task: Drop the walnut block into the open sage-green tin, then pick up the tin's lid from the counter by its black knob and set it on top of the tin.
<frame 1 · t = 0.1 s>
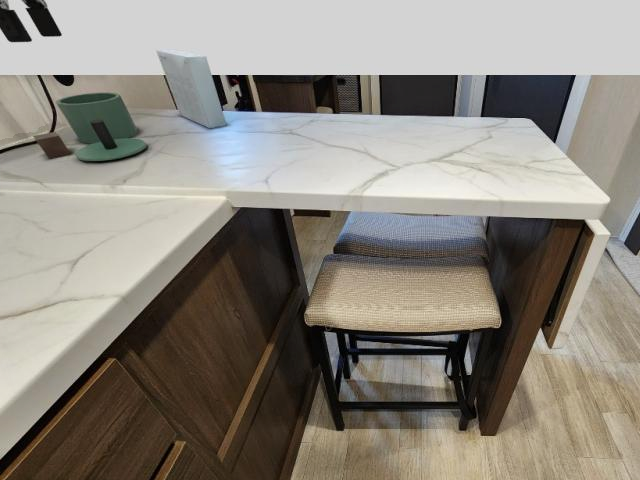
hand: (37, 38, 58), 21 cm above the countertop, tool pointing down, fingers open, 9 cm apart
tin lid: (112, 150, 76), point 1 cm above the countertop
block: (58, 154, 75), on the countertop
skincare box: (203, 120, 96), on the countertop
tin: (109, 135, 85), on the countertop
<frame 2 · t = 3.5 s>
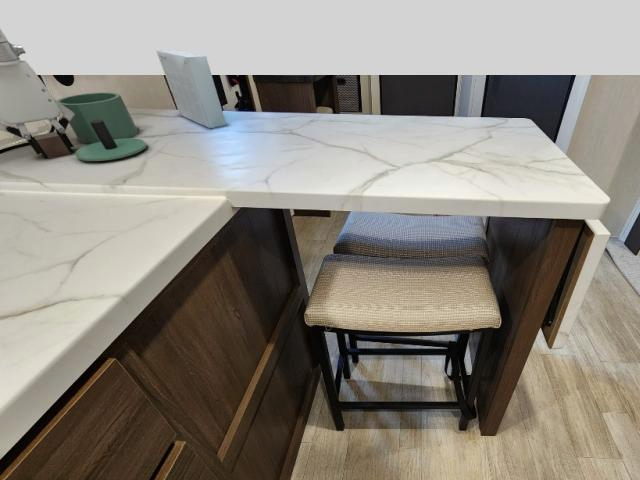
hand: (57, 153, 75), 0 cm above the countertop, tool pointing down, fingers closed on block, 4 cm apart
block: (58, 154, 75), on the countertop, touching gripper
everything else where it was.
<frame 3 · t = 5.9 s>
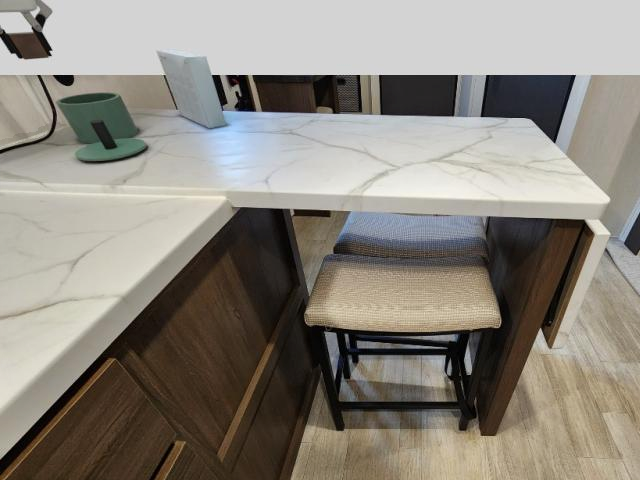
hand: (34, 55, 69), 17 cm above the countertop, tool pointing down, fingers closed on block, 4 cm apart
block: (35, 57, 69), point 17 cm above the countertop, touching gripper
everything else where it was.
when the fingers open (9 cm above the countertop, at t = 8.5 s): block drops 8 cm, resting on tin.
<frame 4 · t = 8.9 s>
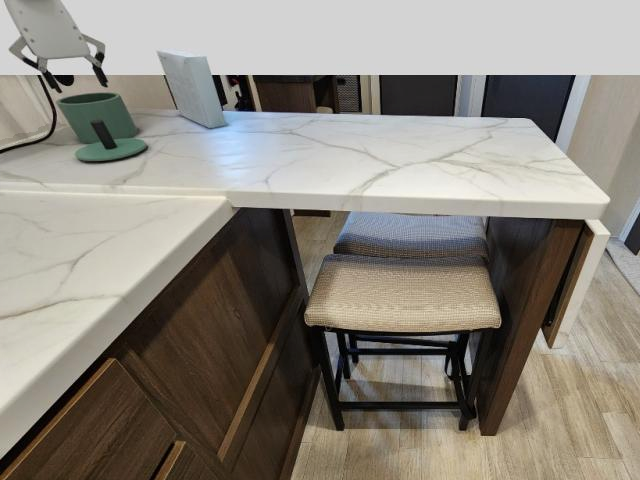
hand: (82, 89, 78), 10 cm above the countertop, tool pointing down, fingers open, 8 cm apart
block: (108, 133, 85), resting on tin
everything else where it was.
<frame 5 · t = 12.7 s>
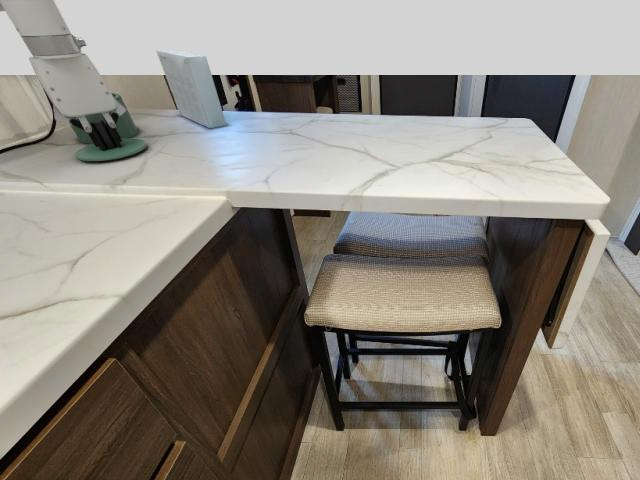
hand: (110, 147, 75), 1 cm above the countertop, tool pointing down, fingers closed on tin lid, 2 cm apart
tin lid: (112, 150, 76), point 1 cm above the countertop, touching gripper
everything else where it was.
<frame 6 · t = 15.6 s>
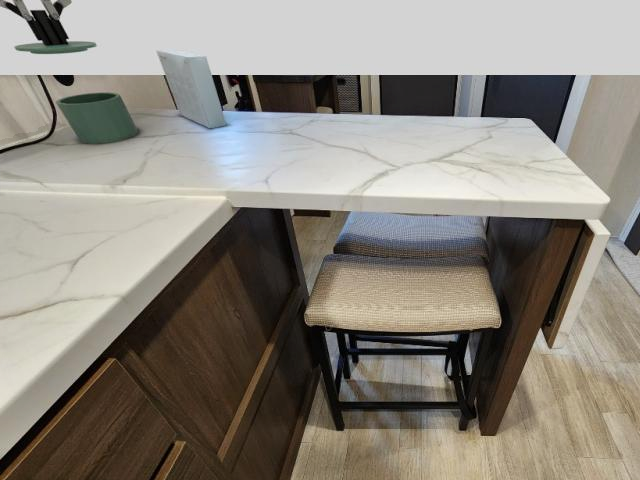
hand: (56, 43, 70), 19 cm above the countertop, tool pointing down, fingers closed on tin lid, 2 cm apart
tin lid: (58, 47, 70), point 19 cm above the countertop, touching gripper
everything else where it was.
when the fingers open (9 cm above the countertop, at t = 18.6 s): tin lid stays where it is, resting on tin.
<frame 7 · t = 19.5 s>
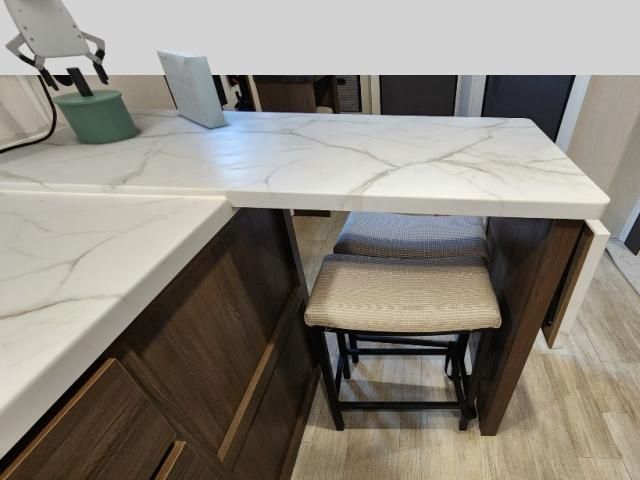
hand: (82, 86, 78), 11 cm above the countertop, tool pointing down, fingers open, 9 cm apart
tin lid: (88, 98, 79), point 8 cm above the countertop, touching tin
everything else where it was.
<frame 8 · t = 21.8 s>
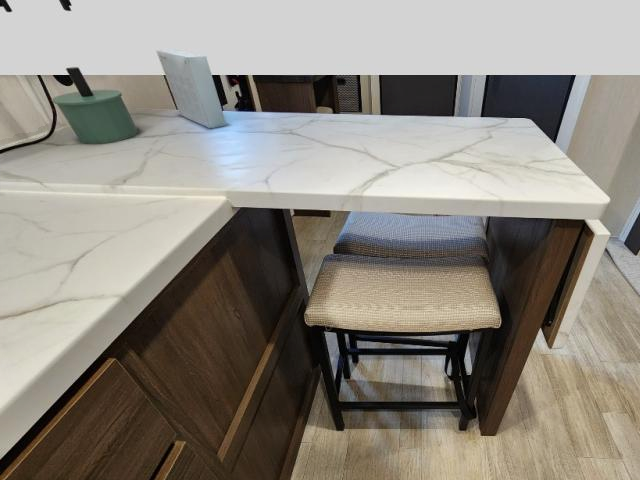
hand: (39, 11, 68), 24 cm above the countertop, tool pointing down, fingers open, 9 cm apart
nothing on the countertop moved.
at the end: block inside the target area in the tin (0.1 cm from its centre), point 0.5 cm above the tin's base; tin lid 0.0 cm off-centre on the tin, point 8.5 cm above the tin's base; tin lid tilted 0° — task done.
